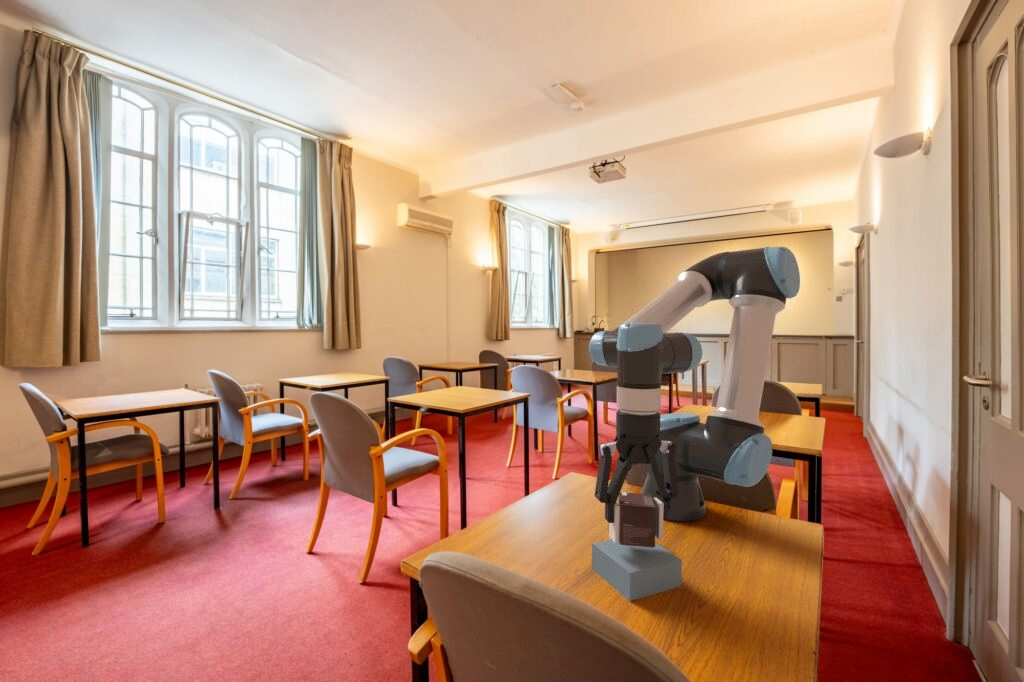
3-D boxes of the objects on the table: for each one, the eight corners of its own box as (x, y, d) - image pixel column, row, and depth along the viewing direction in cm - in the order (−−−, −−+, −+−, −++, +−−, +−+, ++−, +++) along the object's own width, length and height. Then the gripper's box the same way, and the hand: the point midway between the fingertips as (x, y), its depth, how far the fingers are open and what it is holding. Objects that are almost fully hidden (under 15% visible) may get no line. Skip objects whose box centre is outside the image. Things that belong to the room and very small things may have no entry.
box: (655, 549, 80) (656, 506, 79) (619, 545, 81) (619, 504, 80) (651, 533, 86) (652, 493, 85) (617, 530, 87) (618, 491, 86)
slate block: (639, 558, 91) (640, 532, 90) (681, 587, 81) (681, 559, 80) (591, 569, 86) (592, 543, 86) (629, 602, 76) (630, 572, 76)
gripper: (680, 405, 88) (677, 524, 89) (576, 408, 84) (574, 532, 85) (703, 412, 80) (700, 543, 81) (590, 416, 77) (588, 552, 78)
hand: (635, 537), depth 83 cm, fingers closed on box, 7 cm apart
